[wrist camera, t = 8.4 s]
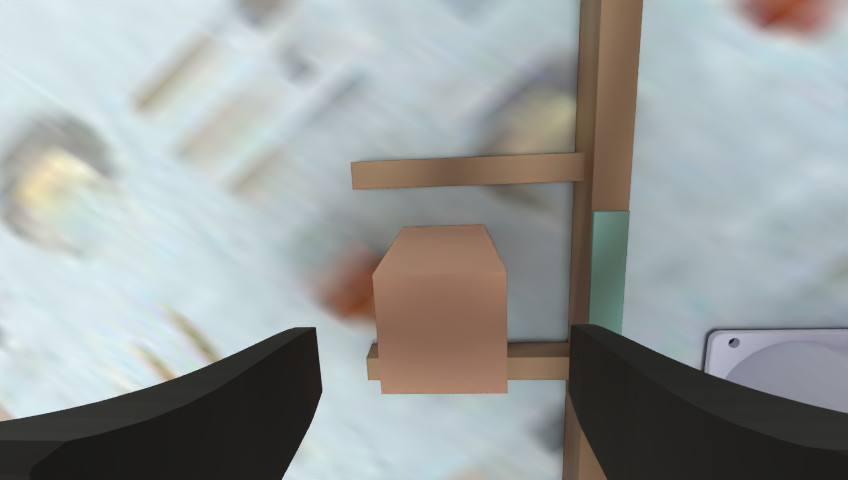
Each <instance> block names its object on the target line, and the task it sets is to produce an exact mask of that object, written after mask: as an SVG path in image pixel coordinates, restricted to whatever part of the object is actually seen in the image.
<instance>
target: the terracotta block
mask: <svg viewBox="0 0 848 480" xmlns="http://www.w3.org/2000/svg"><path fill="white" fill-rule="evenodd" d="M372 278H373V291H374V303H375V316H376V329H377V341H378V354H379V367H380V379H381V392H382V394H466V393H507V271H506V269H505V267H504V265H503V263H502V261H501V259H500V257H499V255H498V252H497V250H496V248H495V246H494V244H493V242H492V240H491V238H490V236H489V234H488V232H487V230H486V228H485V226H484V224H476V225H448V226H421V227H403V228H402V229H401V231H400V233H399V234H398V236H397V237H396V239H395V240H394V242H393V244H392V245H391V247H390V248H389V250H388V251H387V253H386V254H385V256H384V258H383V259H382V261H381V262H380V264H379V265H378V267H377V268H376V270H375V272H374V273H373V275H372Z"/></svg>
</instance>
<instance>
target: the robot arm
mask: <svg viewBox="0 0 848 480" xmlns="http://www.w3.org/2000/svg"><path fill="white" fill-rule="evenodd" d="M733 338H734V341H733V342H732V343H731V344H728V343H729V341H730V340H731V339H733ZM568 392H569V395H570V398H571V401H572V404H573V408H574V410H575V413H576V416H577V419H578V422H579V424H580V426H581V428H582V431H583V433H584V435H585V437H586V439H587V441H588V443H589V445H590V447H591V449H592V451H593V453H594V455H595V457H596V459H597V460H598V462H599V464H600V466H601V468H602V470H603V472H604V474H605V476H606V478H607V480H848V329H818V330H725V331H715V332H714V333H712V334H711V335H710V336H709V339H708V345H707V353H706V362H705V370H704V372H703V371H700V370H698V369H695V368H693V367H690V366H688V365H685V364H683V363H681V362H678V361H676V360H673V359H671V358H669V357H667V356H664V355H662V354H660V353H658V352H655V351H653V350H651V349H649V348H647V347H645V346H643V345H640V344H638V343H636V342H634V341H632V340H630V339H628V338H626V337H624V336H622V335H619V334H617V333H615V332H613V331H611V330H608V329H606V328H604V327H601V326H598V325H595V324H571V332H570V358H569V384H568ZM321 394H322V382H321V372H320V363H319V354H318V344H317V335H316V327H295V328H292V329H288V330H286V331H283V332H281V333H278V334H276V335H274V336H272V337H269V338H267V339H265V340H263V341H261V342H259V343H257V344H255V345H253V346H250V347H248V348H246V349H244V350H242V351H240V352H238V353H236V354H233V355H231V356H229V357H226V358H224V359H222V360H220V361H217V362H215V363H213V364H210V365H208V366H206V367H204V368H201V369H199V370H196V371H194V372H191V373H189V374H186V375H183V376H181V377H178V378H175V379H172V380H169V381H167V382H164V383H161V384H158V385H155V386H152V387H149V388H145V389H142V390H138V391H135V392H131V393H128V394H124V395H121V396H117V397H114V398H110V399H107V400H103V401H99V402H95V403H91V404H87V405H83V406H78V407H74V408H70V409H65V410H60V411H56V412H51V413H46V414H41V415H36V416H31V417H25V418H20V419H13V420H7V421H1V422H0V480H282V478H283V476H284V474H285V472H286V470H287V469H288V467H289V465H290V463H291V461H292V459H293V457H294V455H295V453H296V452H297V450H298V448H299V446H300V444H301V442H302V440H303V438H304V436H305V434H306V432H307V430H308V428H309V426H310V424H311V422H312V420H313V417H314V414H315V412H316V409H317V406H318V403H319V400H320V397H321Z"/></svg>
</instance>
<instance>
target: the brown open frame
mask: <svg viewBox="0 0 848 480" xmlns="http://www.w3.org/2000/svg"><path fill="white" fill-rule="evenodd" d="M642 8H643V0H581V9H580V36H579V62H578V88H577V114H576V141H575V153H556V154H533V155H509V156H485V157H462V158H438V159H415V160H391V161H367V162H351V172H352V185H353V189H378V188H405V187H432V186H459V185H485V184H512V183H539V182H566V181H574V193H573V219H572V246H571V272H570V298H569V324H568V343H507V380H566V403H565V429H564V456H563V480H607V478H606V476H605V474H604V472H603V470H602V468H601V466H600V464H599V462H598V460H597V459H596V457H595V455H594V453H593V451H592V449H591V447H590V445H589V443H588V441H587V439H586V437H585V435H584V433H583V431H582V428H581V426H580V424H579V422H578V419H577V416H576V413H575V410H574V408H573V404H572V401H571V398H570V395H569V392H568V384H569V358H570V332H571V324H595V325H598V326H601V327H604V328H606V329H608V330H611V331H613V332H615V333H617V334H619V335H621V329H622V314H623V300H624V285H625V271H626V256H627V242H628V227H629V212H630V211H629V198H630V184H631V169H632V154H633V140H634V125H635V111H636V96H637V81H638V67H639V52H640V37H641V23H642ZM366 360H367V372H368V380H381V379H380V367H379V354H378V344H372V346H371V348H370V351H369V353H368V356H367V358H366Z"/></svg>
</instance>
